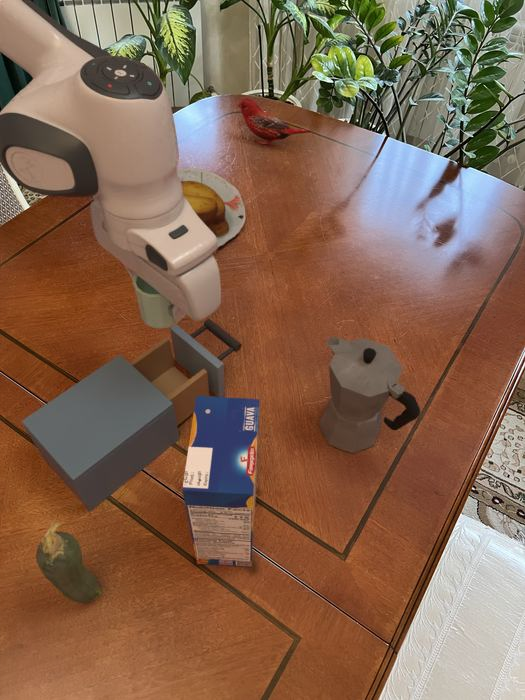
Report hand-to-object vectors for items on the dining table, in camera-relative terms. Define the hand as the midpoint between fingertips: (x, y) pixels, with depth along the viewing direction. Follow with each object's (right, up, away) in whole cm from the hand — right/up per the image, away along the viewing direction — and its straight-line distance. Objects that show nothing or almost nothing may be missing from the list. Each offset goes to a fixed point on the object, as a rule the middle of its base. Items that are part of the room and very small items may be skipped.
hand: (160, 301), depth 74 cm
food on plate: (-3, +20, +40) cm, 45 cm away
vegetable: (-8, -36, -4) cm, 37 cm away
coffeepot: (+27, -18, +11) cm, 34 cm away
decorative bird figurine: (+16, +40, +56) cm, 71 cm away
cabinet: (-8, -20, +8) cm, 23 cm away
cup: (0, -1, +2) cm, 2 cm away
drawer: (+1, -13, +13) cm, 18 cm away
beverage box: (+9, -29, +1) cm, 31 cm away
